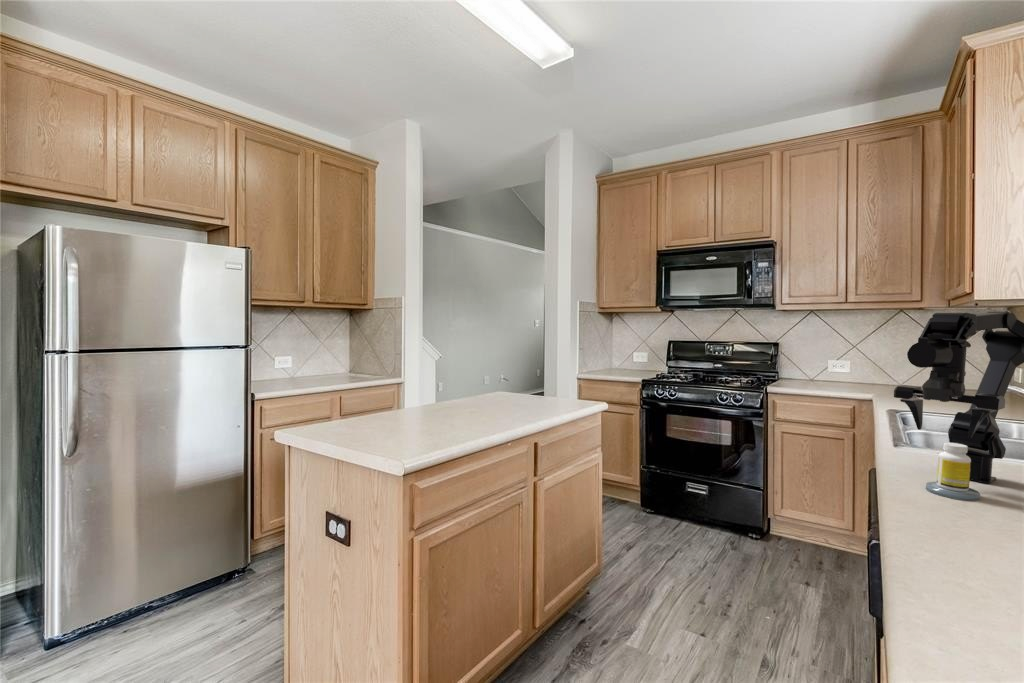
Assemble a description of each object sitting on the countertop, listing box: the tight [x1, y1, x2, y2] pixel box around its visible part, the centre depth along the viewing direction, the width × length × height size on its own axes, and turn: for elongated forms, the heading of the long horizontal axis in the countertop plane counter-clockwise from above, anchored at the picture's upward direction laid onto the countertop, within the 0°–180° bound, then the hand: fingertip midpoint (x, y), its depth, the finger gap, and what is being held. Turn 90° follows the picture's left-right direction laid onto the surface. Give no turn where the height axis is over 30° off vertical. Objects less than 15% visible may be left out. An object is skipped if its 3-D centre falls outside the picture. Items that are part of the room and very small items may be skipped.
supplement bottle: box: [936, 442, 971, 492], centre depth 110 cm, size 5×5×10 cm
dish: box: [925, 481, 981, 502], centre depth 110 cm, size 9×9×1 cm
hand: (943, 433), depth 115 cm, fingers open, 9 cm apart
